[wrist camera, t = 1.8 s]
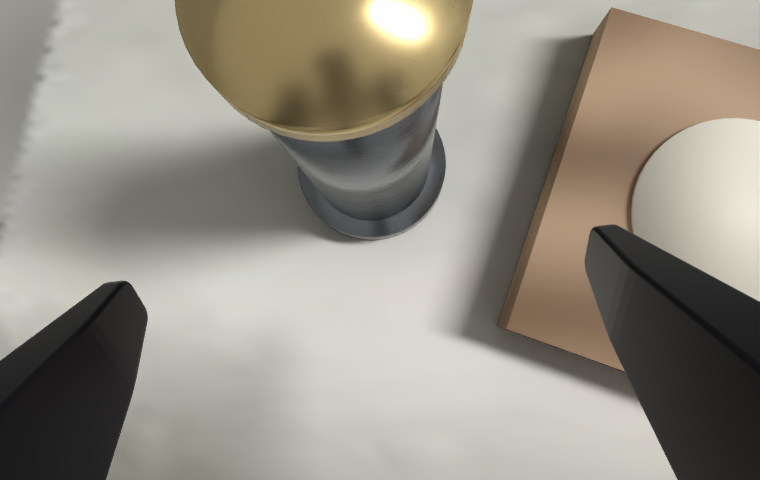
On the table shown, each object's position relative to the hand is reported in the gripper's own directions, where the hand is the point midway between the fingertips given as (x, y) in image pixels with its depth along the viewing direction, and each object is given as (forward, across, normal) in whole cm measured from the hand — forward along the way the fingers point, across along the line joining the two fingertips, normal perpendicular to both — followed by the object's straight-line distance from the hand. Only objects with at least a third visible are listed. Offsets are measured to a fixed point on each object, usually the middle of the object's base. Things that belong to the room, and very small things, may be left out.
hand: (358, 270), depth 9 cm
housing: (+12, 0, +5) cm, 13 cm away
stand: (+9, -14, +8) cm, 18 cm away
